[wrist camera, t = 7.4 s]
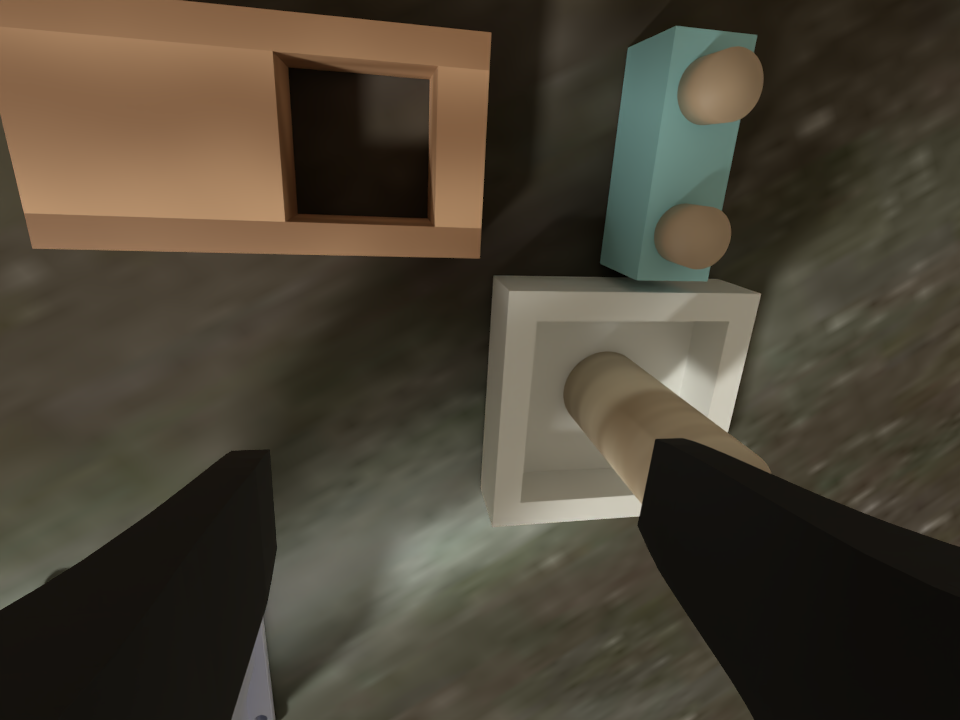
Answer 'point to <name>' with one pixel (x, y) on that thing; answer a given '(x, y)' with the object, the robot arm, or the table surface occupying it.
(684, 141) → the teal peg block
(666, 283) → the tray
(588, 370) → the dowel
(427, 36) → the rectangular frame
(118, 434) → the table surface
